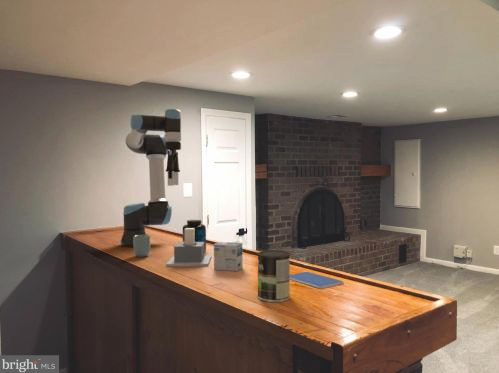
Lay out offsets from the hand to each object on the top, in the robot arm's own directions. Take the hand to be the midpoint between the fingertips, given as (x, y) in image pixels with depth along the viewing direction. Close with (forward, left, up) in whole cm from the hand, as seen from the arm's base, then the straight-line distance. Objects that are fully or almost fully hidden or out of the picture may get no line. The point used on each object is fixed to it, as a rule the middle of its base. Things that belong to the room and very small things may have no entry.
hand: (173, 185), depth 188 cm
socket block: (+14, +10, -34) cm, 38 cm away
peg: (+14, +10, -33) cm, 37 cm away
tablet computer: (+47, +60, -35) cm, 84 cm away
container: (-10, +9, -35) cm, 37 cm away
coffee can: (+67, +44, -35) cm, 87 cm away
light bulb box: (+28, +28, -35) cm, 53 cm away
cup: (+1, -15, -35) cm, 38 cm away
